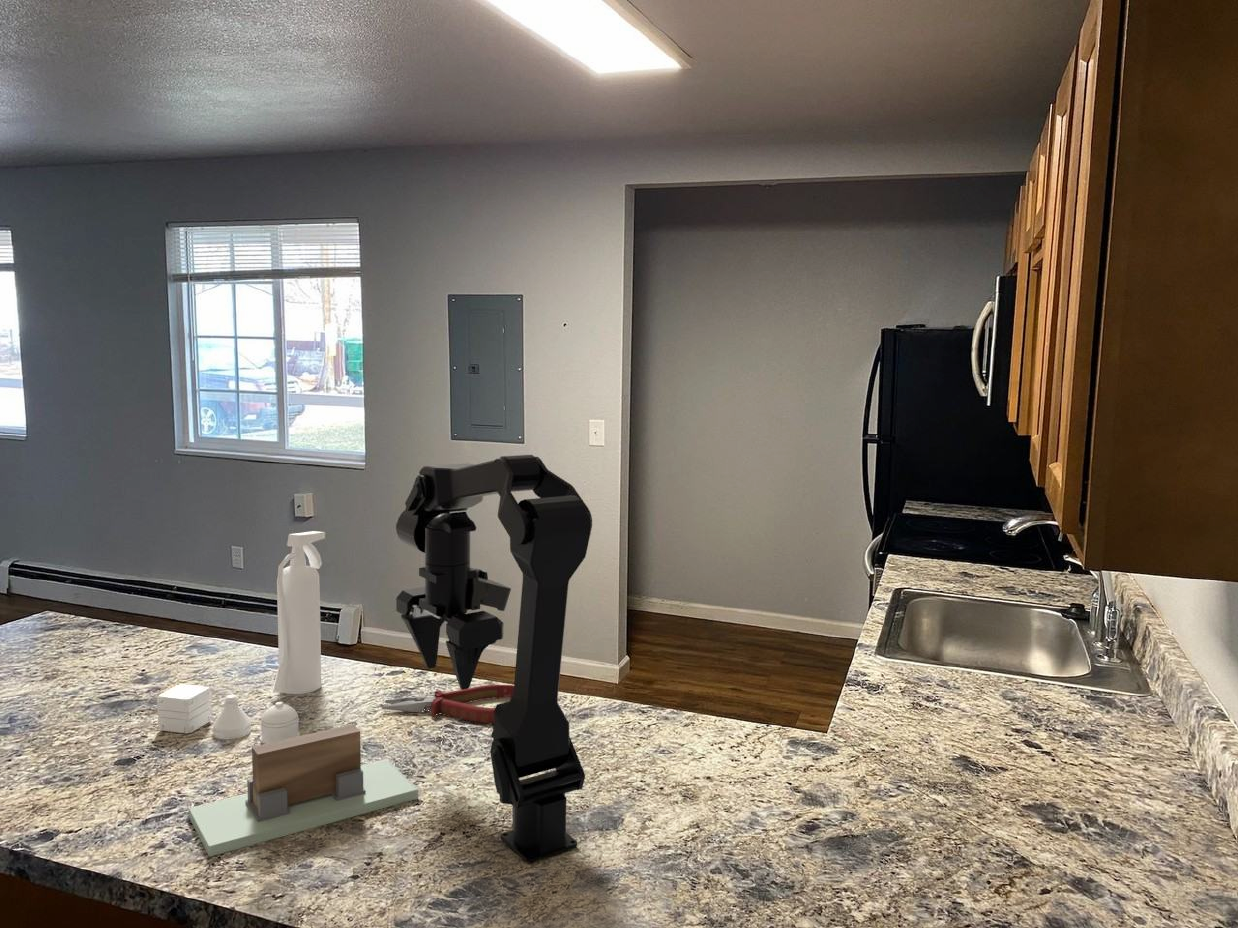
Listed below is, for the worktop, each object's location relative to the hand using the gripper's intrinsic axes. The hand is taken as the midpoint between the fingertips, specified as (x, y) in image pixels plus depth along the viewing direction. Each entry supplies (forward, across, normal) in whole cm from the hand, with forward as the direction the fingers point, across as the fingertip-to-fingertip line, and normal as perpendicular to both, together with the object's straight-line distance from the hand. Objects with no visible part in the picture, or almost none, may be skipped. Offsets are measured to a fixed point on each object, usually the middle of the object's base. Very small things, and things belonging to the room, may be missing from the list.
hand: (447, 677), depth 124 cm
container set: (+12, +26, +20) cm, 35 cm away
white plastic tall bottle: (+12, +38, +7) cm, 40 cm away
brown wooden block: (+10, -1, +19) cm, 22 cm away
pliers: (+13, +17, -11) cm, 24 cm away
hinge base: (+12, -1, +19) cm, 23 cm away
